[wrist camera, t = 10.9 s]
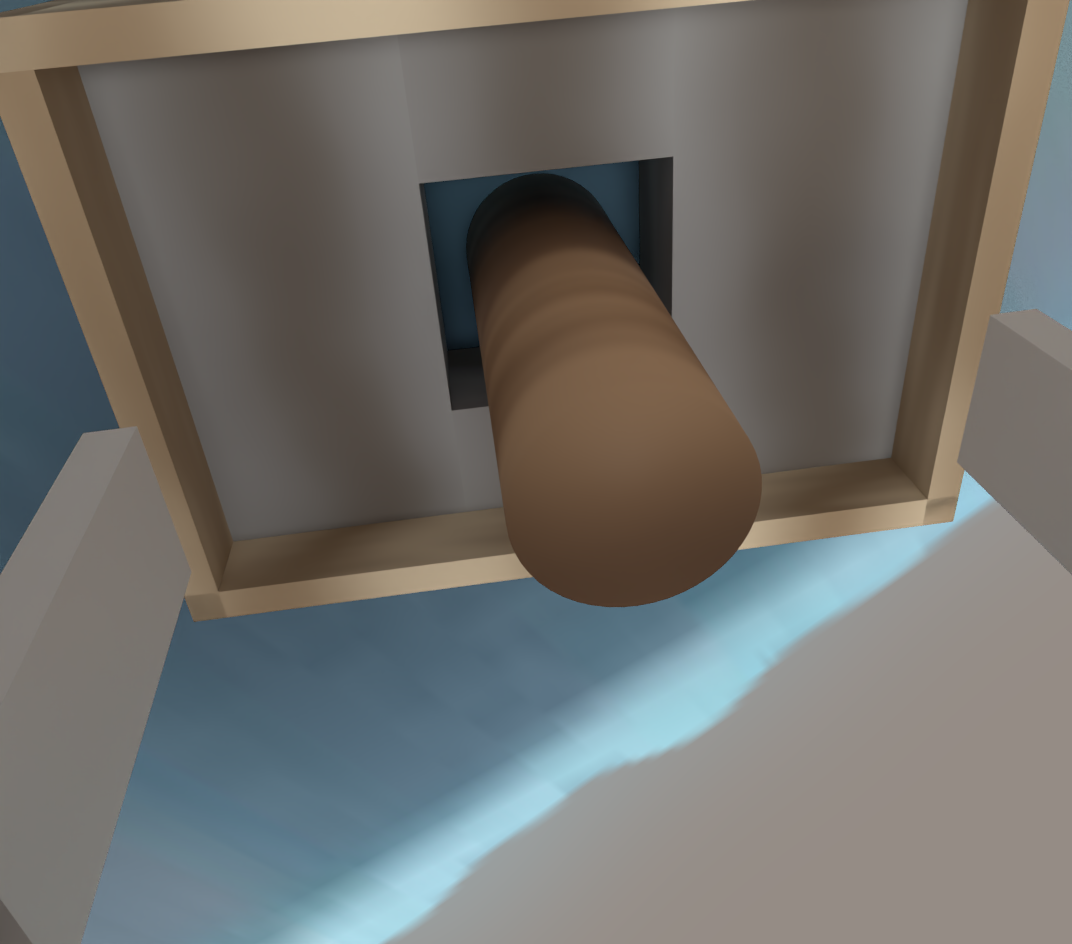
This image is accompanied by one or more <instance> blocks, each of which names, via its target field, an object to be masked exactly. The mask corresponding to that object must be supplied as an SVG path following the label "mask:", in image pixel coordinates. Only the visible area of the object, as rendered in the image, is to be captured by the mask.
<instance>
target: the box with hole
mask: <svg viewBox="0 0 1072 944" xmlns="http://www.w3.org/2000/svg"><path fill="white" fill-rule="evenodd" d="M1069 1H1070V0H54V1H49V2H45V3H41V4H36V5H32V6H27V7H23V8H19V9H14V10H10V11H5V12H1V13H0V116H1V119H2V121H3V124H4V127H5V129H6V132H7V135H8V137H9V140H10V142H11V145H12V148H13V150H14V153H15V155H16V158H17V161H18V163H19V166H20V169H21V171H22V174H23V176H24V179H25V182H26V184H27V187H28V189H29V192H30V195H31V197H32V200H33V202H34V205H35V208H36V210H37V213H38V216H39V218H40V221H41V223H42V226H43V229H44V231H45V234H46V236H47V239H48V242H49V244H50V247H51V250H52V252H53V255H54V257H55V260H56V263H57V265H58V268H59V270H60V273H61V276H62V278H63V281H64V284H65V286H66V289H67V291H68V294H69V297H70V299H71V302H72V304H73V307H74V310H75V312H76V315H77V318H78V320H79V323H80V325H81V328H82V331H83V333H84V336H85V338H86V341H87V344H88V346H89V349H90V352H91V354H92V357H93V359H94V362H95V365H96V367H97V370H98V372H99V375H100V378H101V380H102V383H103V386H104V388H105V391H106V393H107V396H108V399H109V401H110V404H111V406H112V409H113V412H114V414H115V417H116V420H117V422H118V425H119V427H120V428H127V427H134V426H137V428H138V431H139V433H140V436H141V439H142V441H143V444H144V447H145V449H146V452H147V455H148V457H149V460H150V463H151V465H152V468H153V471H154V473H155V476H156V479H157V481H158V484H159V487H160V489H161V492H162V495H163V497H164V500H165V503H166V505H167V508H168V511H169V513H170V516H171V519H172V521H173V524H174V527H175V529H176V532H177V535H178V537H179V540H180V543H181V545H182V548H183V551H184V553H185V556H186V559H187V561H188V564H189V567H190V569H191V575H190V579H189V582H188V585H187V589H186V592H185V595H184V597H185V600H186V603H187V605H188V608H189V610H190V613H191V616H192V618H193V621H194V622H196V621H204V620H211V619H219V618H226V617H234V616H241V615H249V614H257V613H264V612H272V611H279V610H287V609H294V608H302V607H309V606H317V605H325V604H332V603H340V602H347V601H355V600H362V599H370V598H377V597H385V596H393V595H400V594H408V593H415V592H423V591H430V590H438V589H446V588H453V587H461V586H468V585H476V584H483V583H491V582H498V581H506V580H514V579H521V578H529V577H533V576H532V575H531V574H529V573H528V571H527V570H526V569H525V568H524V566H523V565H522V564H521V563H520V561H519V559H518V557H517V556H516V554H515V552H514V550H513V548H512V545H511V543H510V540H509V537H508V532H507V527H506V521H505V514H504V508H503V501H502V494H501V487H500V480H499V473H498V467H497V460H496V453H495V446H494V439H493V432H492V425H491V419H490V412H489V405H488V398H487V391H486V384H485V378H484V371H483V364H482V357H481V350H480V347H475V348H467V349H458V350H449V351H447V344H446V337H445V330H444V323H443V316H442V309H441V302H440V294H439V287H438V280H437V273H436V266H435V259H434V252H433V245H432V238H431V231H430V224H429V217H428V210H427V203H426V196H425V189H424V183H430V182H439V181H448V180H458V179H467V178H477V177H486V176H495V175H505V174H514V173H524V172H533V171H542V170H552V169H561V168H571V167H580V166H589V165H599V164H608V163H618V162H627V161H636V160H639V220H640V268H641V270H642V272H643V273H644V275H645V276H646V278H647V279H648V281H649V282H650V284H651V286H652V287H653V289H654V290H655V292H656V293H657V295H658V297H659V298H660V300H661V301H662V303H663V304H664V306H665V308H666V309H667V311H668V312H669V314H670V315H671V317H672V319H673V320H674V322H675V323H676V325H677V326H678V328H679V330H680V331H681V333H682V334H683V336H684V337H685V339H686V341H687V342H688V344H689V345H690V347H691V348H692V350H693V351H694V353H695V355H696V356H697V358H698V359H699V361H700V362H701V364H702V366H703V367H704V369H705V370H706V372H707V373H708V375H709V377H710V378H711V380H712V381H713V383H714V384H715V386H716V388H717V389H718V391H719V392H720V394H721V395H722V397H723V399H724V400H725V402H726V403H727V405H728V406H729V408H730V410H731V411H732V413H733V414H734V416H735V417H736V419H737V420H738V422H739V424H740V425H741V427H742V428H743V430H744V431H745V433H746V435H747V436H748V438H749V440H750V442H751V443H752V445H753V447H754V449H755V451H756V454H757V457H758V460H759V463H760V469H761V475H762V493H761V500H760V506H759V509H758V512H757V516H756V519H755V521H754V523H753V525H752V528H751V530H750V532H749V533H748V535H747V537H746V538H745V540H744V542H743V543H742V545H741V546H740V547H739V548H738V550H740V549H748V548H755V547H763V546H771V545H778V544H786V543H793V542H801V541H808V540H816V539H824V538H831V537H839V536H846V535H854V534H861V533H869V532H876V531H884V530H892V529H899V528H907V527H914V526H922V525H929V524H937V523H945V522H952V521H953V519H954V514H955V510H956V505H957V501H958V496H959V492H960V487H961V483H962V478H963V474H964V469H963V468H962V467H961V466H960V465H959V464H958V463H957V460H958V455H959V451H960V447H961V442H962V438H963V433H964V429H965V424H966V420H967V416H968V411H969V407H970V402H971V398H972V393H973V389H974V385H975V380H976V376H977V371H978V367H979V362H980V358H981V353H982V349H983V345H984V340H985V336H986V331H987V327H988V322H989V318H990V315H993V314H999V313H1000V309H1001V304H1002V300H1003V295H1004V291H1005V286H1006V282H1007V278H1008V273H1009V269H1010V264H1011V260H1012V255H1013V251H1014V246H1015V242H1016V237H1017V233H1018V228H1019V224H1020V220H1021V215H1022V211H1023V206H1024V202H1025V197H1026V193H1027V188H1028V184H1029V179H1030V175H1031V170H1032V166H1033V161H1034V157H1035V153H1036V148H1037V144H1038V139H1039V135H1040V130H1041V126H1042V121H1043V117H1044V112H1045V108H1046V103H1047V99H1048V95H1049V90H1050V86H1051V81H1052V77H1053V72H1054V68H1055V63H1056V59H1057V54H1058V50H1059V45H1060V41H1061V37H1062V32H1063V28H1064V23H1065V19H1066V14H1067V10H1068V5H1069Z"/></svg>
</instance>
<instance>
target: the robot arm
mask: <svg viewBox="0 0 1072 944" xmlns="http://www.w3.org/2000/svg"><path fill="white" fill-rule="evenodd" d="M957 463H958V464H959V465H960V466H961V467H962V468H963V469H964V470H965V471H966V472H967V473H968V474H969V475H971V476H972V477H973V478H974V479H975V480H976V481H977V482H978V483H979V484H980V485H981V486H982V487H983V488H984V489H985V490H986V491H987V492H988V493H989V494H990V495H991V496H992V497H993V498H994V499H995V500H996V501H997V502H998V503H999V504H1000V505H1001V506H1002V507H1003V508H1004V509H1005V510H1006V511H1007V512H1008V513H1009V514H1010V515H1011V516H1012V517H1013V518H1014V519H1015V520H1016V521H1017V522H1018V523H1019V524H1020V525H1021V526H1023V527H1024V528H1025V529H1026V530H1027V531H1028V532H1029V533H1030V534H1031V535H1032V536H1033V537H1034V538H1035V539H1036V540H1037V541H1038V542H1039V543H1040V544H1041V545H1042V546H1043V547H1044V548H1045V549H1046V550H1047V551H1048V552H1049V553H1050V554H1051V555H1052V556H1053V557H1054V558H1055V559H1056V560H1057V561H1058V562H1059V563H1060V564H1061V565H1062V566H1063V567H1064V568H1065V569H1066V570H1067V571H1069V572H1070V574H1072V331H1071V330H1069V329H1068V328H1066V327H1065V326H1063V325H1061V324H1060V323H1058V322H1057V321H1055V320H1053V319H1052V318H1050V317H1048V316H1047V315H1045V314H1044V313H1042V312H1040V311H1039V310H1037V309H1032V310H1024V311H1016V312H1009V313H1001V314H993V315H990V318H989V322H988V327H987V331H986V336H985V340H984V345H983V349H982V353H981V358H980V362H979V367H978V371H977V376H976V380H975V385H974V389H973V393H972V398H971V402H970V407H969V411H968V416H967V420H966V424H965V429H964V433H963V438H962V442H961V447H960V451H959V455H958V460H957ZM190 575H191V569H190V567H189V564H188V561H187V559H186V556H185V553H184V551H183V548H182V545H181V543H180V540H179V537H178V535H177V532H176V529H175V527H174V524H173V521H172V519H171V516H170V513H169V511H168V508H167V505H166V503H165V500H164V497H163V495H162V492H161V489H160V487H159V484H158V481H157V479H156V476H155V473H154V471H153V468H152V465H151V463H150V460H149V457H148V455H147V452H146V449H145V447H144V444H143V441H142V439H141V436H140V433H139V431H138V428H137V426H134V427H127V428H119V429H111V430H104V431H96V432H88V433H83V434H82V436H81V437H80V439H79V441H78V442H77V444H76V446H75V448H74V449H73V451H72V453H71V454H70V456H69V458H68V460H67V461H66V463H65V465H64V466H63V468H62V470H61V472H60V473H59V475H58V477H57V478H56V480H55V482H54V484H53V485H52V487H51V489H50V490H49V492H48V494H47V496H46V497H45V499H44V501H43V502H42V504H41V506H40V508H39V509H38V511H37V513H36V514H35V516H34V518H33V520H32V521H31V523H30V525H29V526H28V528H27V530H26V532H25V533H24V535H23V537H22V538H21V540H20V542H19V544H18V545H17V547H16V549H15V550H14V552H13V554H12V556H11V557H10V559H9V561H8V562H7V564H6V566H5V568H4V569H3V571H2V573H1V574H0V944H81V940H82V937H83V934H84V930H85V927H86V924H87V920H88V917H89V914H90V910H91V907H92V904H93V900H94V897H95V893H96V890H97V887H98V883H99V880H100V877H101V873H102V870H103V867H104V863H105V860H106V857H107V853H108V850H109V847H110V843H111V840H112V837H113V833H114V830H115V827H116V823H117V820H118V816H119V813H120V810H121V806H122V803H123V800H124V796H125V793H126V790H127V786H128V783H129V780H130V776H131V773H132V770H133V766H134V763H135V760H136V756H137V753H138V750H139V746H140V743H141V739H142V736H143V733H144V729H145V726H146V723H147V719H148V716H149V713H150V709H151V706H152V703H153V699H154V696H155V693H156V689H157V686H158V683H159V679H160V676H161V673H162V669H163V666H164V662H165V659H166V656H167V652H168V649H169V646H170V642H171V639H172V636H173V632H174V629H175V626H176V622H177V619H178V616H179V612H180V609H181V606H182V602H183V599H184V595H185V592H186V589H187V585H188V582H189V579H190Z"/></svg>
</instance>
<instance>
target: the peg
mask: <svg viewBox="0 0 1072 944" xmlns="http://www.w3.org/2000/svg"><path fill="white" fill-rule="evenodd" d="M466 251H467V261H468V268H469V275H470V282H471V289H472V296H473V302H474V309H475V316H476V323H477V330H478V337H479V343H480V350H481V357H482V364H483V371H484V378H485V384H486V391H487V398H488V405H489V412H490V419H491V425H492V432H493V439H494V446H495V453H496V460H497V467H498V473H499V480H500V487H501V494H502V501H503V508H504V514H505V521H506V527H507V532H508V537H509V540H510V543H511V545H512V548H513V550H514V552H515V554H516V556H517V557H518V559H519V561H520V563H521V564H522V565H523V566H524V568H525V569H526V570H527V571H528V573H529V574H531V575H532V576H533V577H534V578H535V579H536V580H537V581H538V582H539V583H541V584H542V585H544V586H545V587H547V588H548V589H549V590H551V591H553V592H555V593H557V594H559V595H561V596H563V597H565V598H568V599H571V600H574V601H576V602H580V603H585V604H589V605H595V606H603V607H628V606H638V605H644V604H649V603H654V602H657V601H661V600H664V599H667V598H670V597H672V596H675V595H677V594H680V593H682V592H684V591H686V590H688V589H690V588H692V587H694V586H696V585H698V584H699V583H701V582H702V581H704V580H705V579H707V578H708V577H710V576H711V575H712V574H714V573H715V572H716V571H717V570H718V569H720V568H721V567H722V566H723V565H724V564H725V563H726V562H727V561H728V560H729V559H730V558H731V557H732V556H733V555H734V554H735V552H736V551H737V550H738V548H739V547H740V546H741V545H742V543H743V542H744V540H745V538H746V537H747V535H748V533H749V532H750V530H751V528H752V525H753V523H754V521H755V519H756V516H757V512H758V509H759V506H760V500H761V493H762V475H761V469H760V463H759V460H758V457H757V454H756V451H755V449H754V447H753V445H752V443H751V442H750V440H749V438H748V436H747V435H746V433H745V431H744V430H743V428H742V427H741V425H740V424H739V422H738V420H737V419H736V417H735V416H734V414H733V413H732V411H731V410H730V408H729V406H728V405H727V403H726V402H725V400H724V399H723V397H722V395H721V394H720V392H719V391H718V389H717V388H716V386H715V384H714V383H713V381H712V380H711V378H710V377H709V375H708V373H707V372H706V370H705V369H704V367H703V366H702V364H701V362H700V361H699V359H698V358H697V356H696V355H695V353H694V351H693V350H692V348H691V347H690V345H689V344H688V342H687V341H686V339H685V337H684V336H683V334H682V333H681V331H680V330H679V328H678V326H677V325H676V323H675V322H674V320H673V319H672V317H671V315H670V314H669V312H668V311H667V309H666V308H665V306H664V304H663V303H662V301H661V300H660V298H659V297H658V295H657V293H656V292H655V290H654V289H653V287H652V286H651V284H650V282H649V281H648V279H647V278H646V276H645V275H644V273H643V272H642V270H641V268H640V267H639V265H638V264H637V262H636V261H635V259H634V257H633V256H632V254H631V253H630V251H629V250H628V248H627V246H626V245H625V243H624V242H623V240H622V239H621V237H620V235H619V234H618V232H617V231H616V229H615V228H614V226H613V224H612V223H611V221H610V220H609V218H608V217H607V215H606V213H605V212H604V210H603V209H602V207H601V206H600V204H599V203H598V202H597V200H596V199H595V198H594V196H593V195H592V194H591V193H590V192H589V191H588V190H586V189H585V188H584V187H582V186H581V185H579V184H578V183H576V182H574V181H572V180H570V179H567V178H565V177H562V176H558V175H553V174H530V175H524V176H521V177H518V178H515V179H512V180H510V181H508V182H506V183H504V184H503V185H501V186H500V187H498V188H497V189H495V190H494V191H493V192H492V193H491V194H489V195H488V197H487V198H486V199H485V200H484V201H483V202H482V203H481V205H480V206H479V208H478V209H477V211H476V213H475V215H474V217H473V219H472V221H471V224H470V227H469V231H468V235H467V244H466Z"/></svg>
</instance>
